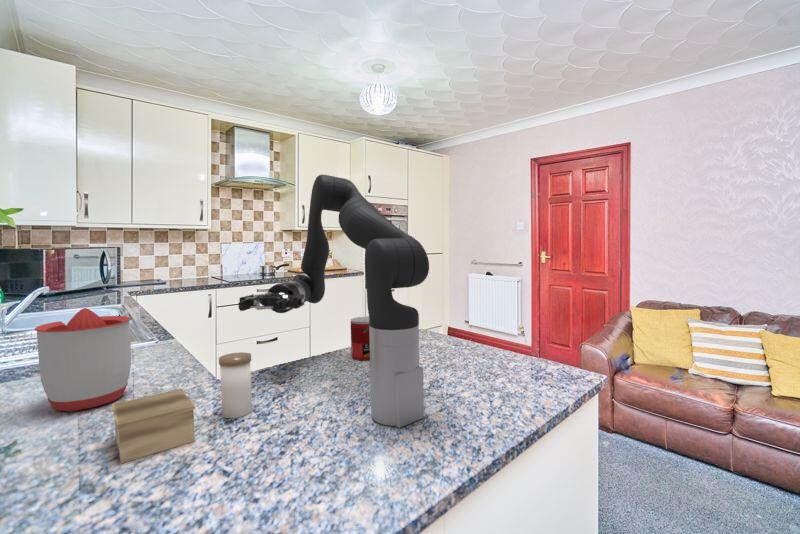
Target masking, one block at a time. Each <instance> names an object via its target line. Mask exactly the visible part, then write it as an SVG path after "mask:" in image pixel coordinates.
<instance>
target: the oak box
mask: <svg viewBox="0 0 800 534" xmlns="http://www.w3.org/2000/svg"><path fill="white" fill-rule="evenodd" d="M111 409H112V412H113V417H114V428H115V429H114V432H115V442H116V447H117V451H118V455H119V461H120V464H124V463H128V462H131V461H133V460H137V459H141V458H144V457H147V456H150V455H153V454H157V453H161V452H164V451H167V450H170V449H174V448H177V447H180V446H183V445H186V444H189V443H193V442H196V439H195V437H196V436H195V435H196V434H195V418H194V417H195V416H194V410H196V406H195V404H194V403H193V401H192V400H191V399H190V398H189V396H188V395H187V393H186V392H185V391H184V390H183V388H178V389H175V390H170V391H166V392H165V391H164V392H162V393H156V394H152V395H147V396H143V397H138V398H134V399H133V398H132V399H130V400H125V401H121V402H120V401H119V402H115V403H112V407H111Z"/></svg>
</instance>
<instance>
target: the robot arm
mask: <svg viewBox="0 0 800 534" xmlns="http://www.w3.org/2000/svg"><path fill="white" fill-rule="evenodd" d="M309 201H310V204H309V213H308V219H307V220H308V223H307V232H306V233H307V234H306V242H305V246H304V251H303V256H302V259H301V263H300V268H301V269H300V270H301V271H302V272H303V273H304V274H296V275H295V276H294V277H293V278H292V280H290V281H284V282H280V283H277V284H274V285H272V286H271V287H270V288H269V289H268V290H267V292H265V293H261V294H249V295H246V296H241V297H239V299H238V300H239V302H238V310H239V311H240V312H245V311H247V310H250V309H255V310H264V309H268V310H271V311H273V312H274V313H278V314H286V313H287V312H290V311H292V310H297V309H299V308H302V307H303V306H305V303H306V302H307V303H310V304H318V303H320V302H321V301H322V300H323V298H324V296H325V292H326V282H325V280H326V279H325V278H326V277H325V273H326V272H325V270H326V266H327V262H328V259H329V254H330V244H329V241H328V238H327V235H326V233H325V230H324V227H323V223H322V214H323V211H330V212H336V213H337V212H338V225H339V227H340V228H341V231H342V232H343V233H344V234H345V236H346V237H347V238H348V239H349V241H351V242H352V243H353V244H355V245H356V246H358V247H360V248H362V249H365V253H364V271H365V273H364V275H365V285H366V287H365V288H366V303H367V306H366V307H367V312H368V317H369V333H370V360H369V365H370V366H369V372H370V373H369V375H370V376H369V378H370V379H369V380H370V407H371V409H370V414H371V419H372V420H373V421H374V422H376V423H377V424H380V425H384V426H392V427H397V428H398V429H399V428H403V427H405V426H407V425H409V424H412V423H415V422H417V421H420V420H421V419H424V417H425V412H424V411H425V409H424V407H425V406H424V404H425V402H424V399H425V398H424V396H425V395H424V367H423V366H420V327H419V326H420V319H419V318H420V316H419V311H418V310H417V308H416V307H413V306H410V305H406V304H402V303H401V302H398V301H397V300H395V299H394V296H393V291H392V289H403V288H411V287H412V288H413V287H416V286H419V285H421V284H422V283H423V282H424V281H425V280H426V279H427V277H428V275H429V270H430V260H429V257H428V255H427V252H426V249H425V248H424V246H423V245H422V244H421V242H420V241H418V240H417V239H416V238H415V237H413V236H411V235H410V234H408V233H406V232H405V231H403V230H402V229H400V228H399V227H397V226H396V225H395V224H394V223H392V221H390V220H389V218H387V217H386V216H385V215H383V214H382V213H381V212H380V211H379V209H378V208H377V207H375V206H374V204H372V203H371V202H369V200H367V199H366V198H365V197H364V196H363V195H362V193H361V192H360V191H359V189H358V188H357V186H356V185H355V183H354V182H353V181H351V180H349V179H347V178H343V177H340V176H339V177H338V176H333V175H327V174H319V175H317V177H315V179H314V182H313V184H312V188H311V194H310V200H309Z"/></svg>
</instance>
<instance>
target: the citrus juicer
mask: <svg viewBox="0 0 800 534" xmlns="http://www.w3.org/2000/svg"><path fill="white" fill-rule="evenodd" d="M130 321H131V317H129V316H123V315H107V316H106V315H103V316H100V315H98V314H97V313H95V312H94V311H93V310H91V309H89V308H86V307H84V308H81V309H80V310H78V312H77V313H75V315H74V316H73V317H72V318H71V319H70V320H69V321H68V322H67V324H66V323H64V322H63V321H54V322H48V323H45V324H41V325H38V326H36V327H35V328H34V331H36V337H37V338H36V339H37V354H38V369H39V376H40V381H41V385H42V388H43V392H44V393H45V395H46V397H47V400H48V402H49V404H50V406H51V407H52V408H53V409H54V410H55V411H59V412H60V411H61V412H62V411H63V412H65V411H66V412H70V413H74V412H78V411H80V410H86V409H92V408H95V407H99V406H102V405H106V404H109V403H111V402H115V401H118V400H119V398H121V397H122V396H123V395H124V394H125V392H126V389H127V387H128V381H129V377H130V373H131V369H132V368H131V366H132V348H131V329H130V328H131V327H130Z"/></svg>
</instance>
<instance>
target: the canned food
mask: <svg viewBox="0 0 800 534" xmlns="http://www.w3.org/2000/svg"><path fill="white" fill-rule="evenodd" d="M350 346H351V347H350V349H351V350H350V351H351V352H350V353H351V357H352V358H353V359H354V360H357V361H370V333H369V316H356V317H354V318H351V319H350Z"/></svg>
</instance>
